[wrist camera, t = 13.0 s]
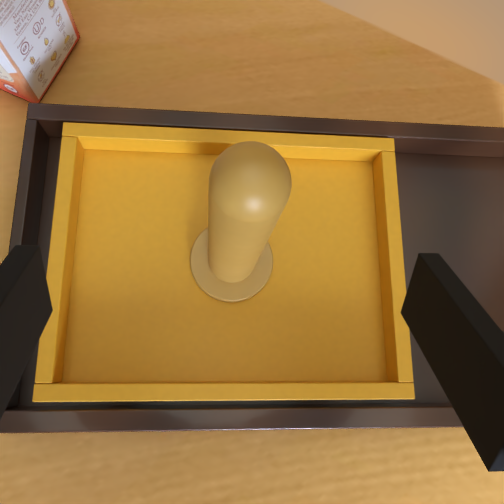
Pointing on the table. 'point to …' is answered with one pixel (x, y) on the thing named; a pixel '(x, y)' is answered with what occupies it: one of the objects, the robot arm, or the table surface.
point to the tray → (177, 323)
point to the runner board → (413, 241)
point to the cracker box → (34, 45)
